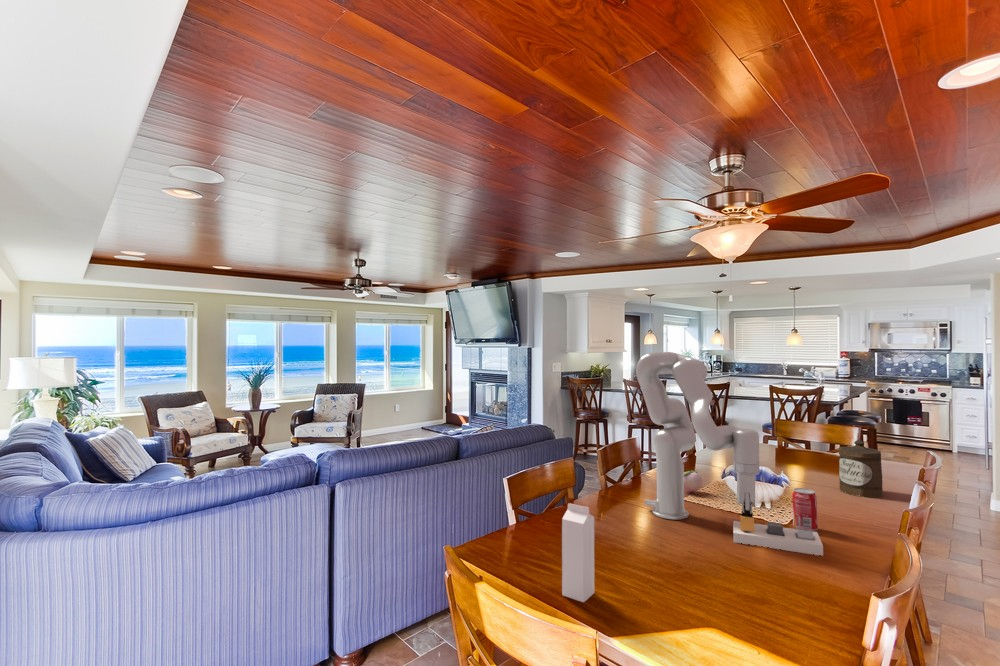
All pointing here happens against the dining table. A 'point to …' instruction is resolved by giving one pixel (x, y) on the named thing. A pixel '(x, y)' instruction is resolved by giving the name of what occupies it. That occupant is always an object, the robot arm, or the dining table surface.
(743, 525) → the thick orange block
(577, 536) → the milk
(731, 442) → the robot arm
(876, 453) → the wooden container
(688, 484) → the decorative fruit
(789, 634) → the dining table surface
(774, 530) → the button black
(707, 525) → the dining table surface
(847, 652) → the dining table surface
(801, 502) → the soda can
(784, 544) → the panel
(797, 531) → the button grey
